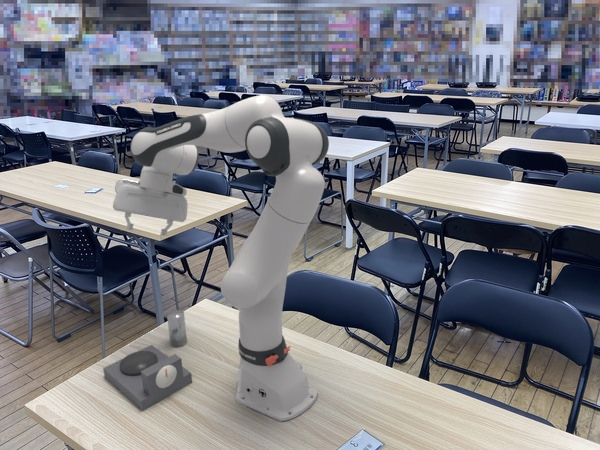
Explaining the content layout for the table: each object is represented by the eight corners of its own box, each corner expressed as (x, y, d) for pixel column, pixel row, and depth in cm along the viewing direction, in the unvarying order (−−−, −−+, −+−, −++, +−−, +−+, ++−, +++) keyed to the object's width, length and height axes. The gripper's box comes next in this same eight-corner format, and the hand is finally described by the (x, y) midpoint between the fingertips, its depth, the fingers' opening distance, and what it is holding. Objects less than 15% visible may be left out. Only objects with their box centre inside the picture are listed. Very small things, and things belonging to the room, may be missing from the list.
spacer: (190, 342, 148) (187, 313, 145) (176, 349, 145) (173, 320, 142) (181, 336, 152) (177, 308, 148) (167, 342, 148) (163, 314, 145)
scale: (193, 382, 130) (190, 354, 127) (143, 412, 120) (139, 381, 116) (152, 353, 143) (149, 326, 140) (104, 377, 133) (99, 348, 130)
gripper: (118, 176, 129) (108, 226, 128) (192, 191, 138) (184, 238, 137) (116, 178, 135) (107, 226, 134) (187, 192, 144) (179, 237, 143)
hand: (146, 232), depth 136 cm, fingers open, 8 cm apart
